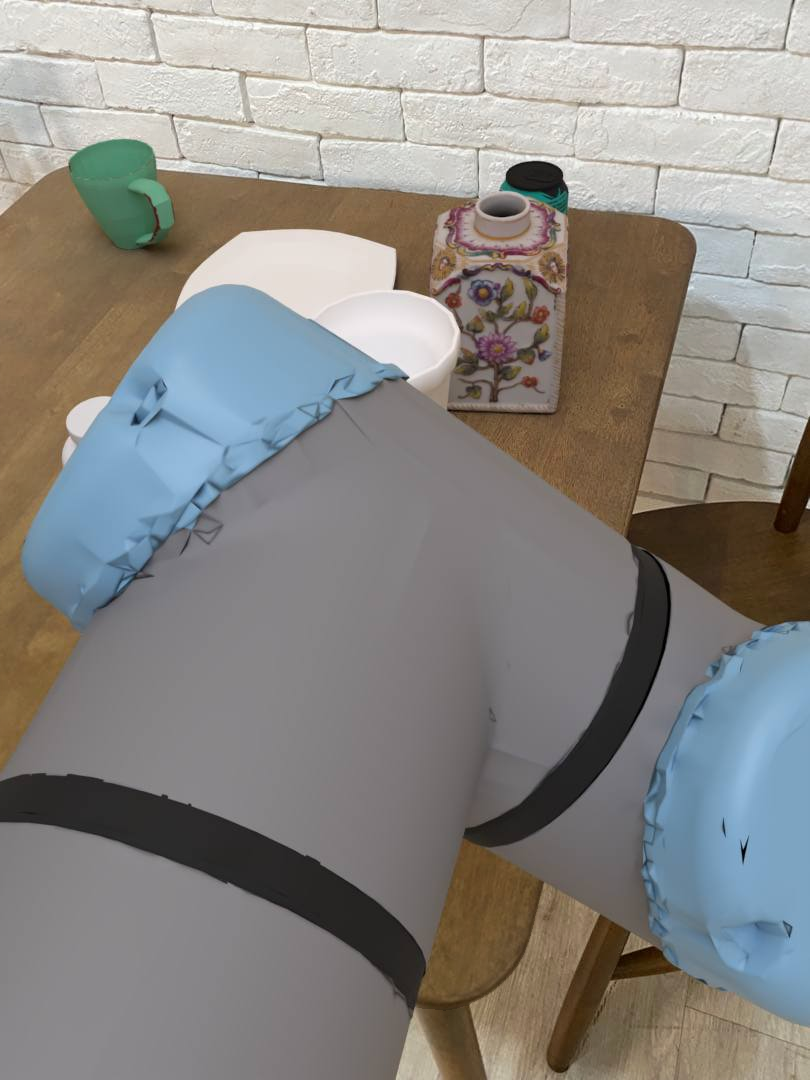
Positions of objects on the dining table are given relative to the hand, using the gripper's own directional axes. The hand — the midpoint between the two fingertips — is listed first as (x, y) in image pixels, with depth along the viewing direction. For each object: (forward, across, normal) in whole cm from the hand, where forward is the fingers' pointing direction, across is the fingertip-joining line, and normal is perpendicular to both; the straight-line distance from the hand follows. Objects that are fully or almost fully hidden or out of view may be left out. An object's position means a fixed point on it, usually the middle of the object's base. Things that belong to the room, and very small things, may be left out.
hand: (343, 670), depth 54 cm
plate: (+47, +22, +29) cm, 60 cm away
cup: (+27, +17, +8) cm, 32 cm away
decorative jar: (+31, +33, +12) cm, 46 cm away
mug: (+62, +13, +45) cm, 77 cm away
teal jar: (+39, +45, +20) cm, 63 cm away
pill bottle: (+31, -4, +12) cm, 33 cm away
